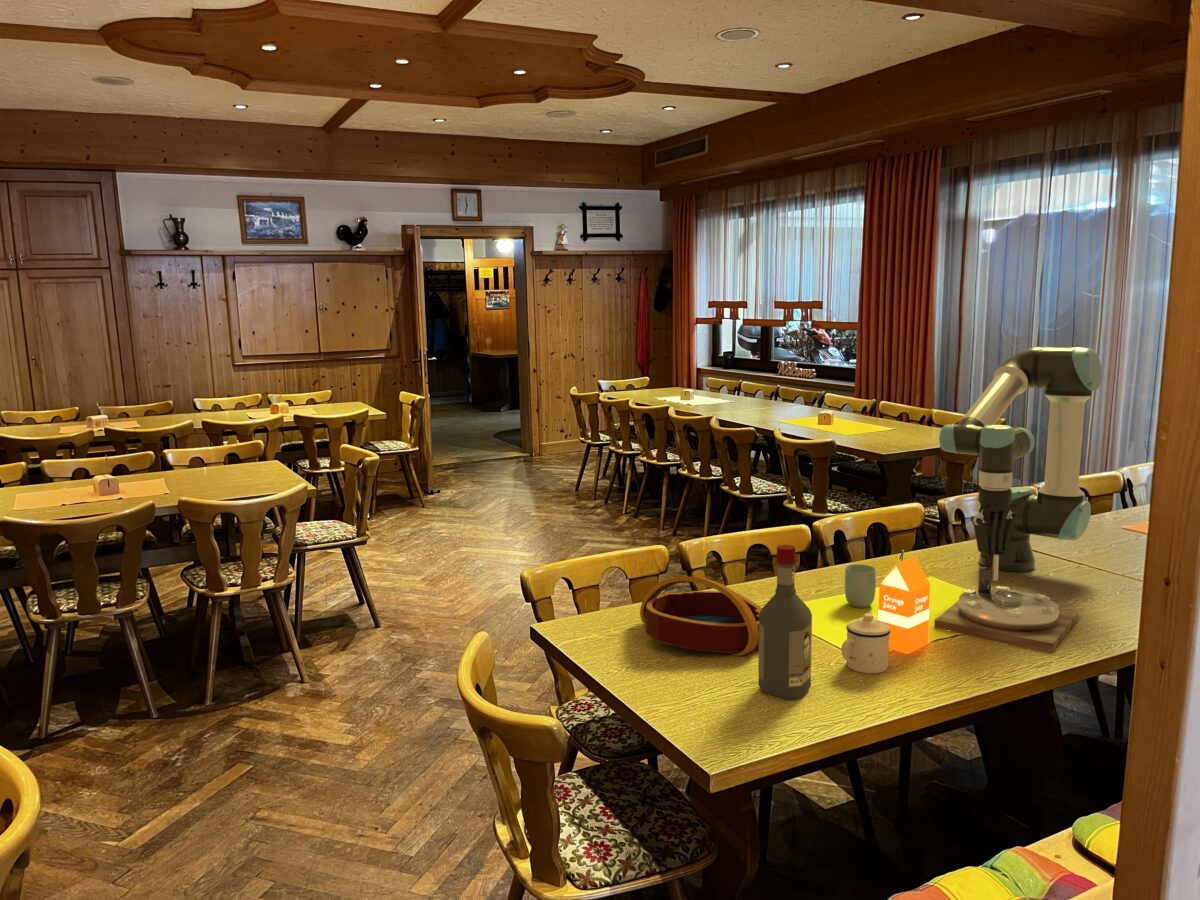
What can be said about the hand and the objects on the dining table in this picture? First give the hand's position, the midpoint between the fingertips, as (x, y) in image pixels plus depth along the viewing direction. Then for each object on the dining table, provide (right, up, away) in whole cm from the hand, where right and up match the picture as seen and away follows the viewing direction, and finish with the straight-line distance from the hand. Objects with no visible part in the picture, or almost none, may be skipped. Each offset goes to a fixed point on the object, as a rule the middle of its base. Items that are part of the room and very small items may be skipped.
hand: (991, 579), depth 219 cm
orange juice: (-29, -12, -20) cm, 37 cm away
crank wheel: (0, -7, -8) cm, 11 cm away
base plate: (0, -10, -8) cm, 13 cm away
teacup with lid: (-42, -15, -32) cm, 55 cm away
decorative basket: (-75, -12, -12) cm, 77 cm away
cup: (-31, -8, +7) cm, 33 cm away
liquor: (-61, -17, -42) cm, 76 cm away
